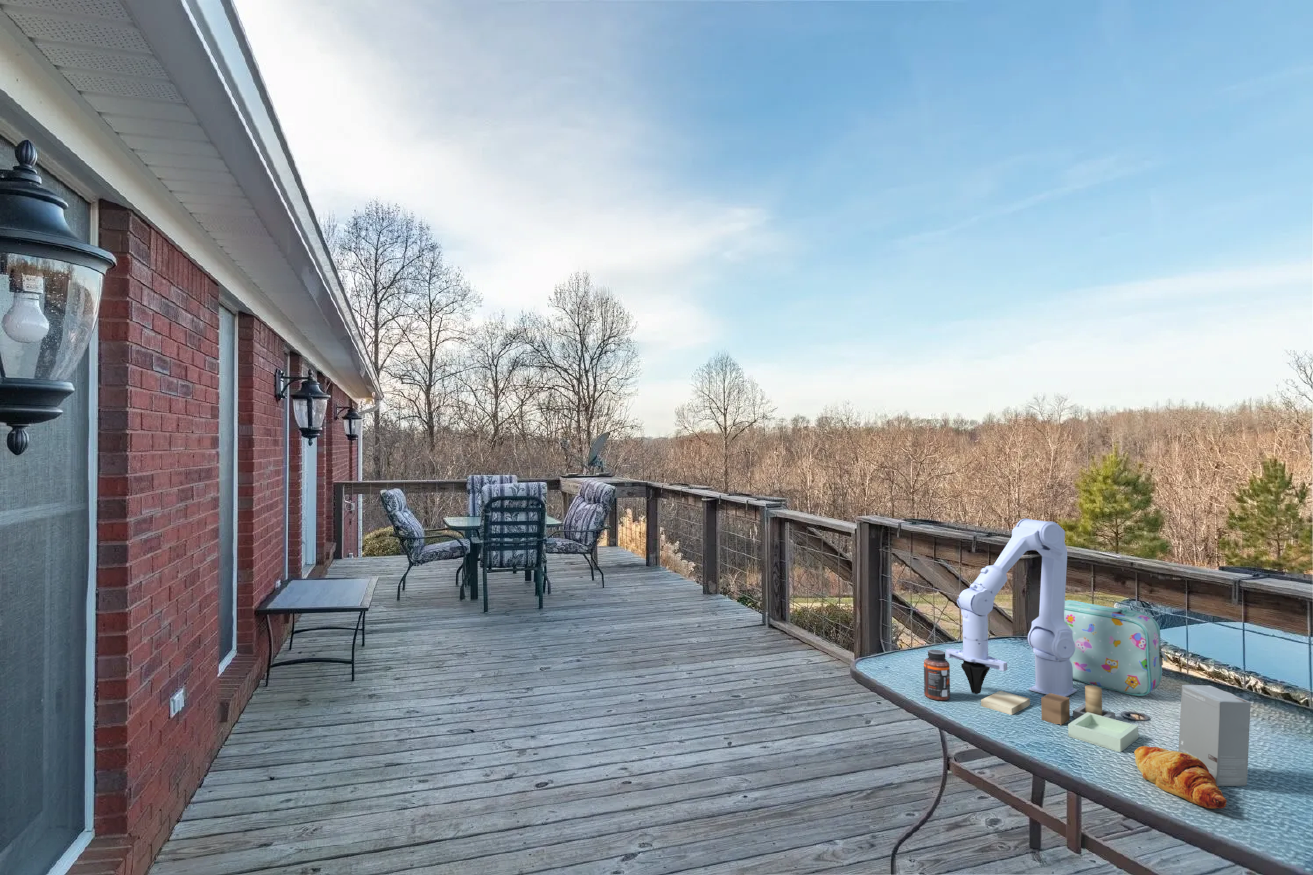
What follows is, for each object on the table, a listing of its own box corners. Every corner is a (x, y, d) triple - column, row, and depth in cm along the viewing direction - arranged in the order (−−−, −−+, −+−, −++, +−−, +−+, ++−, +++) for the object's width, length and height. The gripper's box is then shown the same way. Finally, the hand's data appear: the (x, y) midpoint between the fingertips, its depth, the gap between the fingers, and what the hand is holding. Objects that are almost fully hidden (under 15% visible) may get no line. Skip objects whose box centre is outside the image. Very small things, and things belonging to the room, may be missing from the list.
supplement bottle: (952, 702, 158) (952, 655, 158) (926, 700, 159) (926, 654, 159) (946, 693, 164) (946, 648, 164) (921, 691, 165) (921, 647, 165)
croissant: (1123, 776, 128) (1102, 739, 129) (1169, 753, 128) (1148, 716, 129) (1208, 836, 107) (1183, 792, 108) (1263, 809, 107) (1237, 764, 107)
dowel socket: (1083, 710, 153) (1083, 704, 153) (1115, 719, 148) (1115, 712, 148) (1072, 717, 149) (1072, 710, 149) (1105, 726, 144) (1104, 719, 144)
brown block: (1050, 714, 150) (1050, 692, 151) (1069, 720, 147) (1069, 697, 147) (1041, 719, 147) (1041, 697, 147) (1061, 725, 144) (1060, 702, 144)
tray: (1087, 723, 145) (1087, 711, 145) (1138, 738, 138) (1138, 725, 138) (1068, 736, 139) (1068, 724, 139) (1120, 752, 131) (1120, 739, 131)
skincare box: (1176, 766, 125) (1174, 683, 126) (1210, 764, 126) (1208, 682, 126) (1218, 788, 117) (1216, 699, 117) (1254, 786, 117) (1252, 698, 118)
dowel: (1088, 714, 150) (1088, 684, 151) (1104, 718, 148) (1103, 688, 148) (1083, 717, 148) (1082, 687, 149) (1099, 722, 146) (1098, 691, 146)
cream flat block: (1000, 698, 162) (1000, 690, 162) (1030, 706, 156) (1029, 698, 156) (981, 708, 156) (981, 699, 156) (1011, 717, 150) (1011, 708, 150)
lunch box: (1172, 695, 163) (1170, 610, 163) (1156, 704, 157) (1154, 615, 158) (1058, 667, 185) (1056, 592, 186) (1040, 674, 179) (1039, 596, 180)
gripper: (939, 634, 165) (940, 687, 165) (997, 647, 154) (998, 705, 153) (953, 629, 170) (954, 682, 169) (1010, 642, 158) (1011, 698, 158)
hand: (976, 692), depth 162 cm, fingers closed
